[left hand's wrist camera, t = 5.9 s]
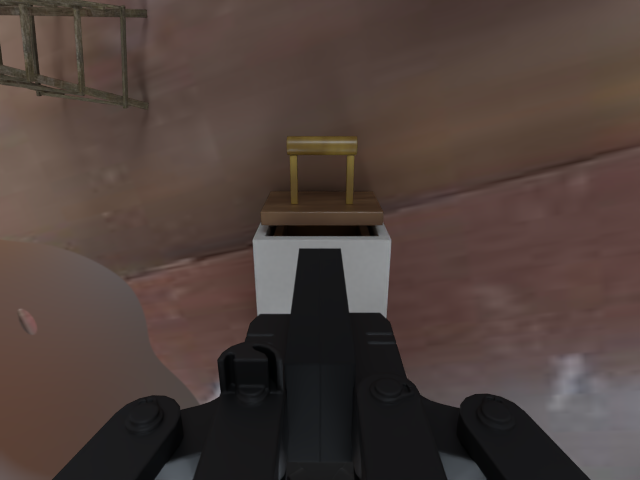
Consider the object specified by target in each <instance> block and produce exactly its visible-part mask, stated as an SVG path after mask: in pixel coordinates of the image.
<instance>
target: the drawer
mask: <svg viewBox="0 0 640 480" xmlns="http://www.w3.org/2000/svg"><path fill="white" fill-rule="evenodd" d="M287 154H288V155H290V184H291V192H270V194H269V196H268V198H267V200H266V202H265V204H264V206H263V208H262V210H261V213H260V214H261V225H277V227H276V230H275V234H274V236H370V234H369V231H368V228H367V225H375V226H382V225H383V214H384V213H383V210H382V209H381V207H380V205H379V203H378V201H377V199H376V197H375V195H374V193H373V192H353V181H354V155H356V154H357V136H287ZM297 155H347V165H346V192H298V169H297Z"/></svg>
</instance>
